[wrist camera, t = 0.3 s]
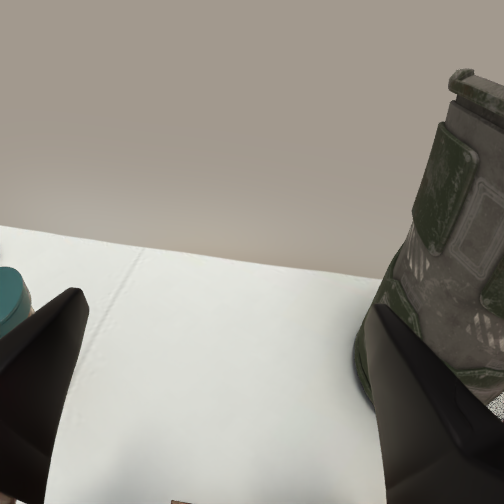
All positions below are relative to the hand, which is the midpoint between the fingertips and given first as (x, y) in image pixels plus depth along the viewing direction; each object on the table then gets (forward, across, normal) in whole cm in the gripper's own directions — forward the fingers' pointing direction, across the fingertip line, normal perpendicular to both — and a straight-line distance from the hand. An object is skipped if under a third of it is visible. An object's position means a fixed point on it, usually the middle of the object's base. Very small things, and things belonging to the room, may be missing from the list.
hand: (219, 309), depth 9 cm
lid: (+5, +19, +6) cm, 20 cm away
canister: (+9, -18, +18) cm, 27 cm away
